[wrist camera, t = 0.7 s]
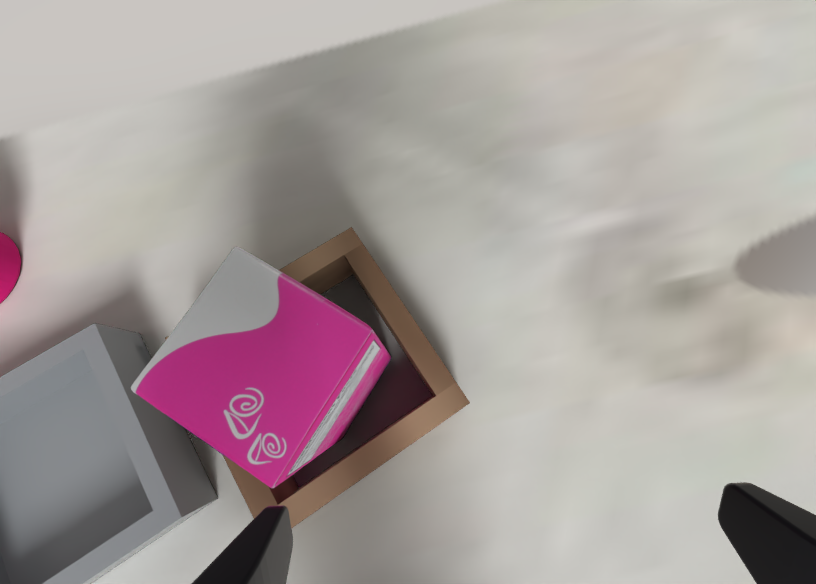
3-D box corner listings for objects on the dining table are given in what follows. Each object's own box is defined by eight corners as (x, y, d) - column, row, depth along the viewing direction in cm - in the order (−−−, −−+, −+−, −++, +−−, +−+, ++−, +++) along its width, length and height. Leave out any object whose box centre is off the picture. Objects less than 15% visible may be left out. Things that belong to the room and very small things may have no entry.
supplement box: (259, 391, 23) (117, 386, 12) (316, 307, 24) (237, 233, 13) (340, 445, 22) (270, 495, 11) (395, 356, 23) (381, 320, 12)
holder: (290, 521, 21) (267, 545, 18) (200, 346, 24) (165, 338, 20) (461, 401, 23) (470, 403, 19) (359, 249, 25) (351, 227, 22)
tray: (24, 627, 20) (-55, 675, 16) (-38, 437, 22) (-119, 444, 19) (218, 498, 21) (181, 517, 18) (139, 333, 24) (94, 323, 20)
